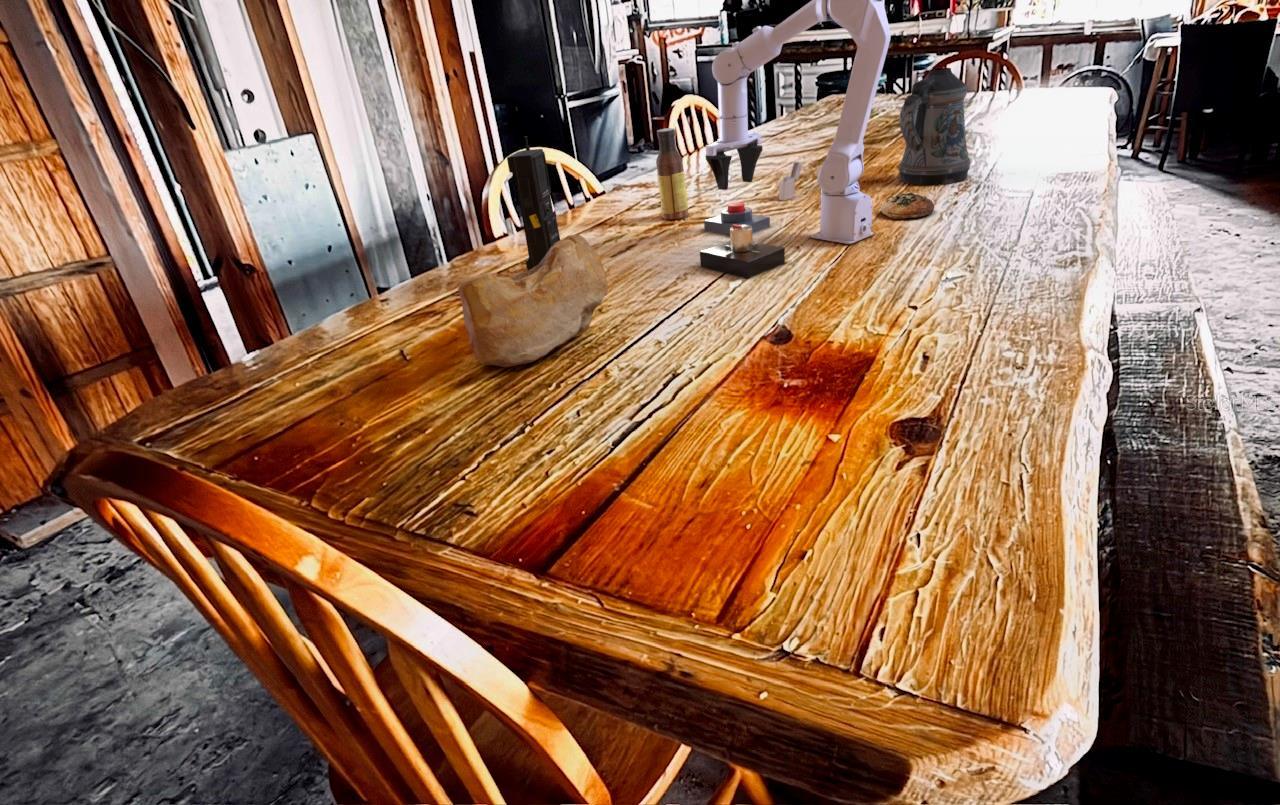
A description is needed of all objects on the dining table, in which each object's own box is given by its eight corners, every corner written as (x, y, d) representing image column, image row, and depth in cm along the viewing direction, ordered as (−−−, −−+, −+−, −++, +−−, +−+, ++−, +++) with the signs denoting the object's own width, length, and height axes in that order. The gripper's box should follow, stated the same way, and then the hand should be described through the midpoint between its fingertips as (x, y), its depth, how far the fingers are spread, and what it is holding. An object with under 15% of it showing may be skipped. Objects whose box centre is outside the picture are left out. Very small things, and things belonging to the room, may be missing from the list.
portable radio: (555, 278, 135) (533, 141, 124) (526, 278, 137) (501, 143, 125) (566, 265, 142) (547, 134, 130) (538, 266, 143) (516, 136, 132)
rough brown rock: (568, 311, 121) (548, 224, 114) (627, 326, 108) (608, 230, 102) (446, 361, 109) (416, 268, 103) (496, 384, 97) (466, 280, 90)
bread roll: (946, 212, 148) (945, 188, 145) (903, 229, 145) (901, 205, 143) (910, 204, 157) (908, 182, 155) (868, 220, 155) (866, 198, 153)
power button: (748, 211, 151) (748, 203, 151) (736, 215, 150) (736, 206, 149) (735, 209, 154) (735, 201, 153) (724, 213, 152) (724, 205, 151)
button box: (770, 227, 152) (769, 208, 150) (741, 237, 147) (741, 218, 145) (732, 220, 160) (731, 202, 158) (704, 230, 155) (703, 212, 153)
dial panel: (784, 263, 130) (784, 246, 128) (748, 278, 124) (747, 261, 123) (736, 253, 138) (736, 237, 137) (700, 266, 133) (699, 250, 131)
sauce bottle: (688, 213, 170) (683, 125, 160) (687, 219, 164) (682, 129, 155) (661, 215, 171) (654, 128, 161) (660, 221, 165) (652, 132, 156)
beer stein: (974, 171, 179) (987, 62, 167) (959, 189, 165) (972, 71, 153) (906, 170, 187) (914, 67, 175) (887, 187, 173) (894, 76, 161)
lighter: (784, 200, 171) (783, 166, 168) (778, 199, 173) (778, 166, 169) (802, 194, 175) (802, 161, 172) (796, 193, 176) (797, 160, 173)
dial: (757, 248, 129) (756, 224, 127) (742, 253, 127) (741, 230, 125) (740, 244, 132) (740, 221, 130) (726, 250, 130) (725, 227, 128)
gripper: (742, 110, 148) (744, 176, 155) (693, 121, 141) (697, 190, 147) (768, 111, 144) (769, 179, 150) (719, 122, 136) (722, 194, 142)
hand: (735, 185), depth 148 cm, fingers open, 7 cm apart
